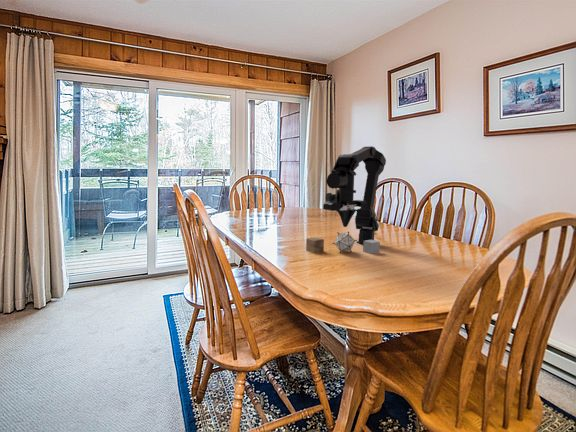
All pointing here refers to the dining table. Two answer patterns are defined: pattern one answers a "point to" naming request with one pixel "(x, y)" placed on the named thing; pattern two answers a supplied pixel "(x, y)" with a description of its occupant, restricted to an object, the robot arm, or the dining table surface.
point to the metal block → (314, 244)
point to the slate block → (371, 246)
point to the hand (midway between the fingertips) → (345, 226)
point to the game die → (344, 242)
